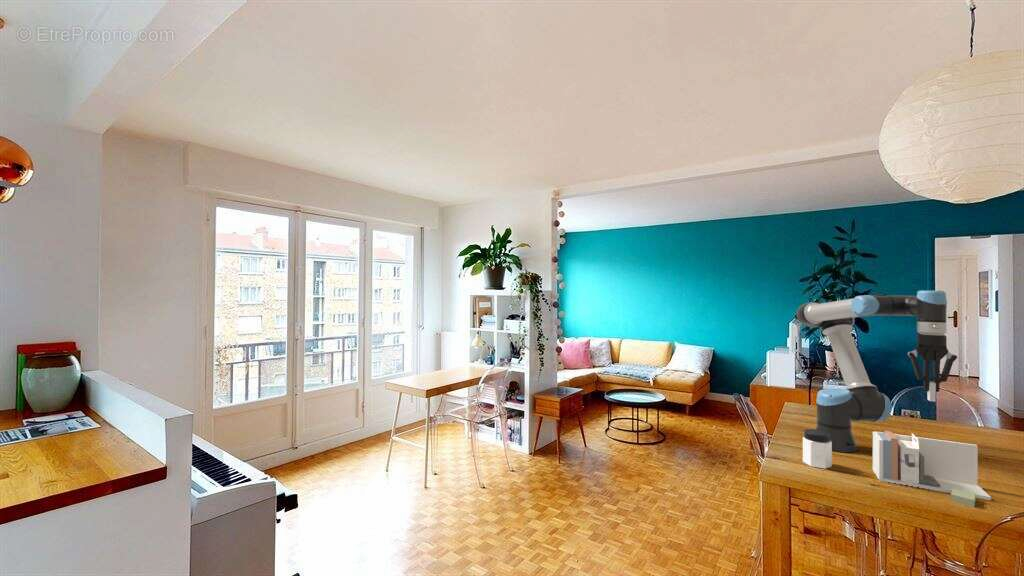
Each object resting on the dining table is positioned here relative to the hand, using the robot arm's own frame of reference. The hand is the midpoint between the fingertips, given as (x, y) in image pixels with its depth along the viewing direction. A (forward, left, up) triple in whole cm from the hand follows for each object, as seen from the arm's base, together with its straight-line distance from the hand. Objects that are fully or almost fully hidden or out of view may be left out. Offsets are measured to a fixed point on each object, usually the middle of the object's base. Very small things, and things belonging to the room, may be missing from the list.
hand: (931, 400), depth 154 cm
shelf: (-4, -10, -26) cm, 28 cm away
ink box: (-9, -11, -26) cm, 29 cm away
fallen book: (+2, -20, -27) cm, 34 cm away
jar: (-34, -9, -27) cm, 44 cm away
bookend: (-4, -11, -25) cm, 28 cm away
